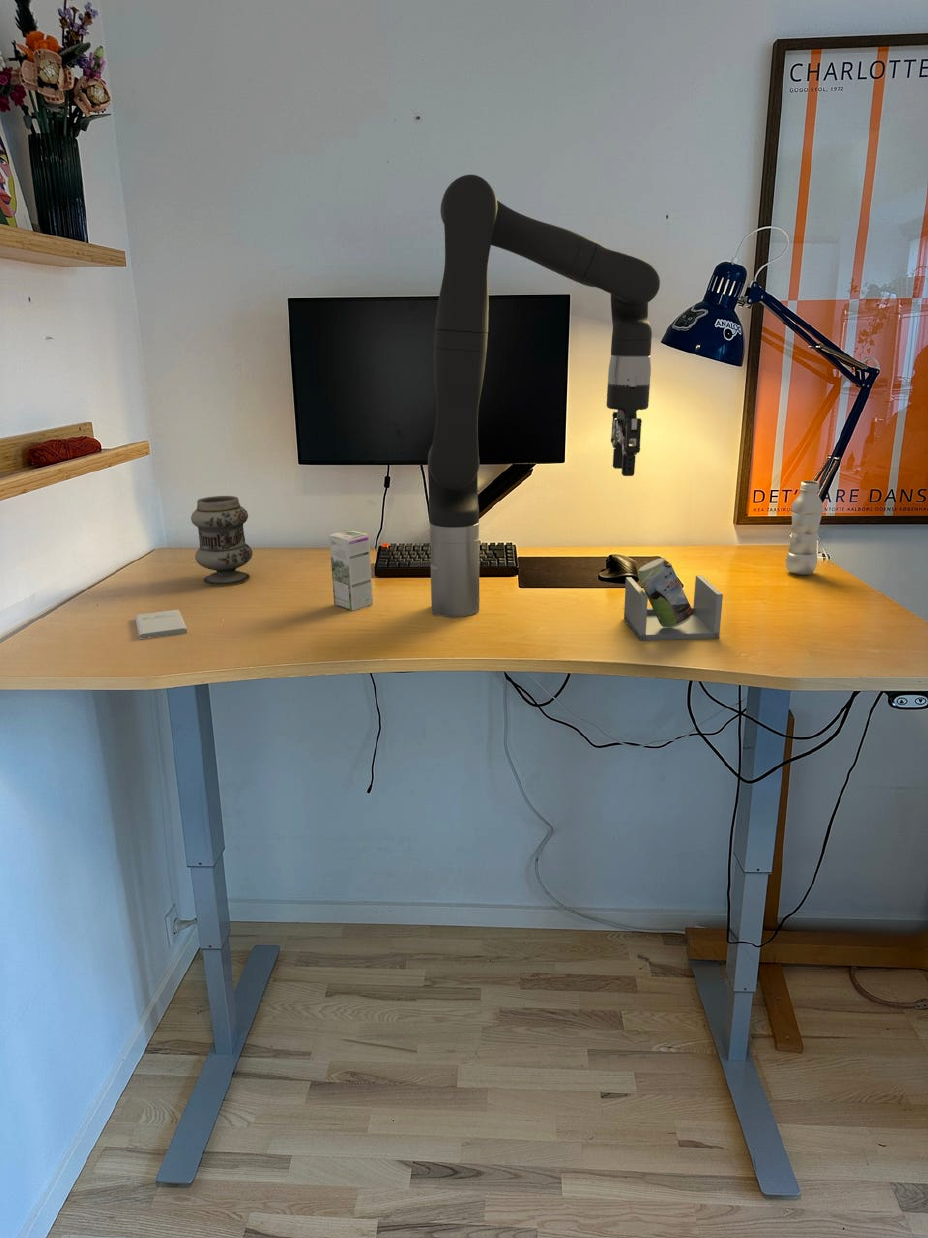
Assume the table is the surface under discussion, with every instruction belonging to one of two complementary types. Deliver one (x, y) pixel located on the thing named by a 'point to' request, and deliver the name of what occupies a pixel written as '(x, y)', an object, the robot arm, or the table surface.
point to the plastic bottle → (805, 530)
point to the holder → (697, 627)
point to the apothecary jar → (222, 539)
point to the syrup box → (351, 569)
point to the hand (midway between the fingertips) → (623, 471)
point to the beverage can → (665, 593)
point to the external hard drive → (160, 624)
